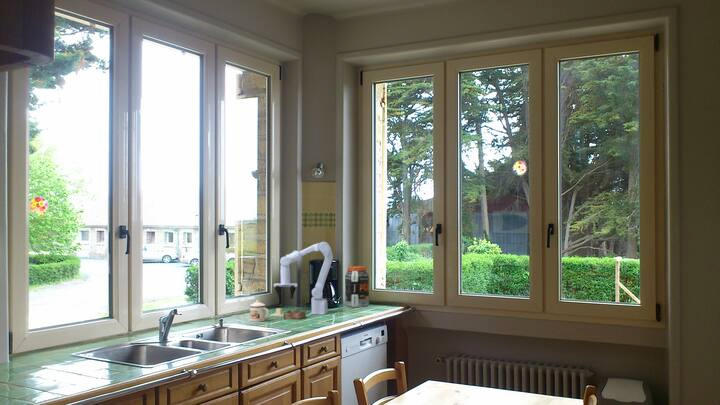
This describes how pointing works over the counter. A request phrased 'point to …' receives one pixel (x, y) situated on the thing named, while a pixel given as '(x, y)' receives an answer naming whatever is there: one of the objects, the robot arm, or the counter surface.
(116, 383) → the counter surface
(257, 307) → the teacup with lid
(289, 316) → the walnut box
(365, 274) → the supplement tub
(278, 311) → the lid
